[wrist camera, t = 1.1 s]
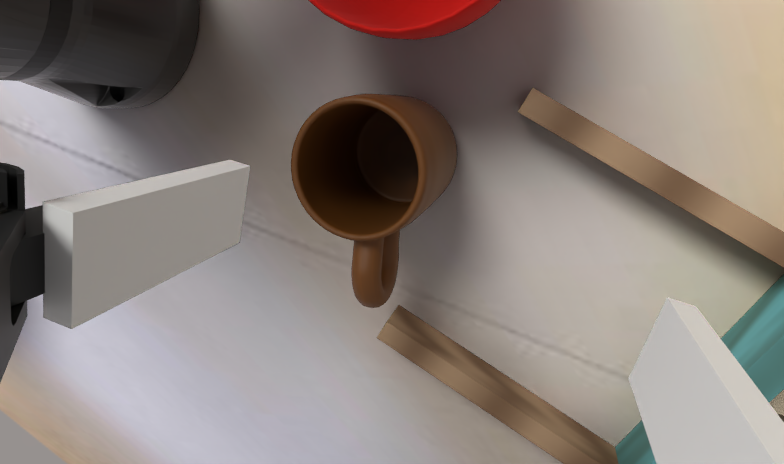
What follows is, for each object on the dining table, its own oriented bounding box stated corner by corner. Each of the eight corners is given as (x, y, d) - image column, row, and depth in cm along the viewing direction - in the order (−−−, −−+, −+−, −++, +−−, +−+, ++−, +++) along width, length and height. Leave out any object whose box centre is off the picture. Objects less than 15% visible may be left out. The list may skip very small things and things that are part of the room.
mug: (459, 271, 34) (430, 329, 25) (357, 264, 36) (299, 315, 28) (460, 93, 31) (428, 89, 22) (349, 97, 33) (280, 95, 25)
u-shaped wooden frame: (389, 319, 37) (372, 344, 33) (533, 89, 30) (532, 87, 26) (627, 478, 34) (637, 523, 31) (842, 266, 27) (889, 292, 24)
